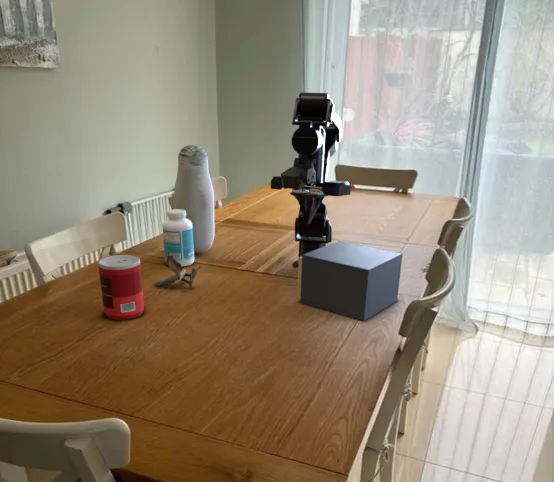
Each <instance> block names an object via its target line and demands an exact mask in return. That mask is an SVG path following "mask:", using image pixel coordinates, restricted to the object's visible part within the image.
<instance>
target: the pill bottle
mask: <svg viewBox="0 0 554 482" xmlns="http://www.w3.org/2000/svg"><path fill="white" fill-rule="evenodd" d="M166 216H167V218H166V219H165V220H164V221H163V222H162V227H161V228H162V238H163V239H162V240H163V251H164V262H165V264H166V265H168V264H167V262H166V260H167V259H166V258H167V257H168V256H170V255H172V256H173V258H174V259H175V261H176V262H179V263H180V264H181V266H182V267H189V266H191V265H193V264H194V262H195V253H194V245H193V228H192V222H191V221H190V220H188V219H186V218H185V217H186V210H182V209H175V208H174V209H169V210H167V211H166Z"/></svg>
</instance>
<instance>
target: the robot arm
mask: <svg viewBox="0 0 554 482" xmlns="http://www.w3.org/2000/svg"><path fill="white" fill-rule="evenodd" d="M291 125H292V126H298V128H297V129H295V131H294V132H293V134H292V136H291V146H292V149H293V151H295V153H296V154H297V157H294V160H293V165H292V166H291V167H289V168H287V169H285V170H284V171H283V172H281V173H280V175H275V176H273V177H272V178H271V180H270V186H269V188H270V189H271V190H277V191H278V190H279V191H280V190H282V189H284V190H287V189H289V190H291V192H289V194H290V195H291V196H293V197H294V198H295V199H296V201H297V203H298V205H299V209H298V215H297V217H295V219H294V242H296V243H297V242H298V258H299V257H301V256H302V255H303V254H306V253H308V252H311V251H314V250H316V249H319V248H322V247H324V246H327V245H329V243H330V244H331V243H332V242H333V241H332V239H333V226H332V224H331V221H330V219H329V218H328V209H327V206H326V204H325V197H344V196H351V189H352V186H351V184H350V183H349V181H344V180H329V181H328V174H329V165H330V159H331V158H332V157H333V156H334V155H335V153H337V150H338V145H339V143H341V140H342V118H341V117H340V116H339V114H338V113H337V112H336V110H335V103H334V101H333V99H332V98H330V95H329V93H328V92H299V94H298V97H296V98H295V102H294V108H293V115H292V121H291Z"/></svg>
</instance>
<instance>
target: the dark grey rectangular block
mask: <svg viewBox="0 0 554 482" xmlns="http://www.w3.org/2000/svg"><path fill="white" fill-rule="evenodd" d="M402 262H403V253H402V252H401V253H400V252H396V251H391V250H386V249H381V248H376V247H372V246H367V245H363V244H357V243H352V242H349V241H348V242H347V241H342V240H338V241H336V242H335V241H334V242H333V243H332V242H331V243H330V244H326V246H324V247H322V248H319V249H316V250H314V251H311V252H308V253H306V254H303V255H302V274H301V297H300V298H299V299H300V300H299V301H300V303H301V304H305V305H308V306H311V307H315V308H318V309H321V310H325V311H329V312H333V313H336V314H340V315H342V316H346V317H350V318H353V319H356V320H360V321H363V322H365V321H367V320H368V319H369V318H371V317H373V316H375V315H376V314H378V313H379V312H381V311H383V310H384V309H387V307H390V306H391V305H392V304H394V303H396V302H397V301H398V298H399V297H398V295H399V287H400V280H401V279H400V278H401V271H402Z"/></svg>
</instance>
